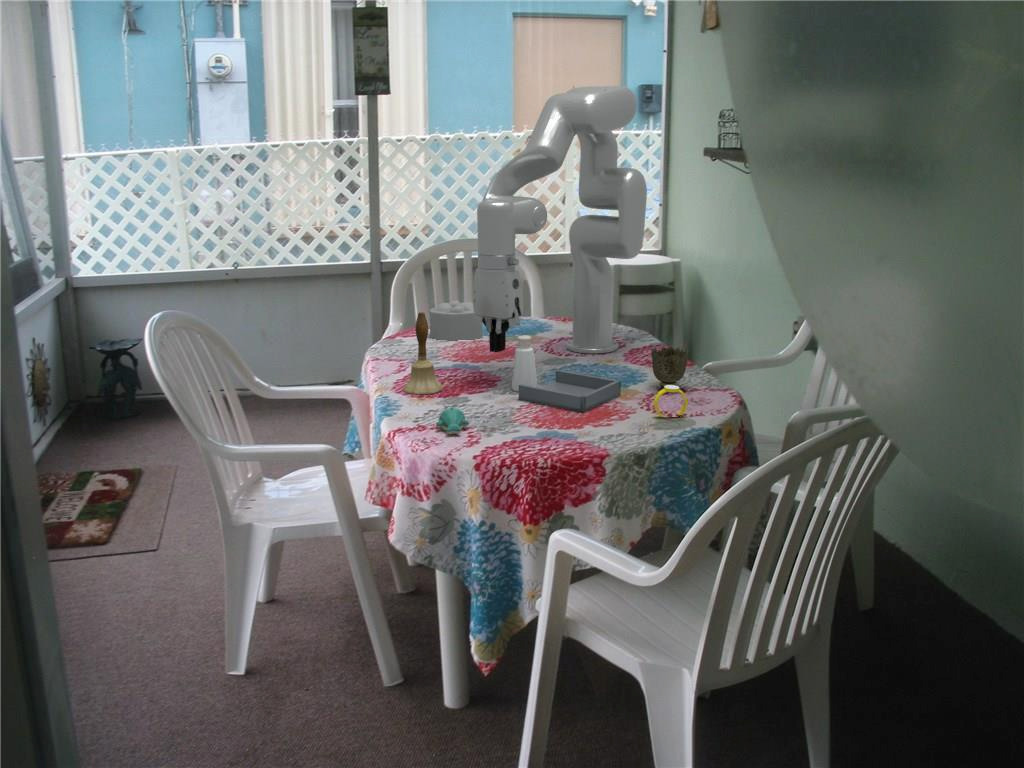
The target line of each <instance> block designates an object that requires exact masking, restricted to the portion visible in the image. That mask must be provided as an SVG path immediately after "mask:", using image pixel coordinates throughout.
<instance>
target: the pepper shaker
mask: <svg viewBox="0 0 1024 768" xmlns="http://www.w3.org/2000/svg"><path fill="white" fill-rule="evenodd" d="M531 346H532V336H530V335H527V334H526V335H525V334H524V335H519V336H517V347H516V348H515V351H514V358H513V359H514V361H513V370H512V380H511V381H512V383H511V388H512V390H513V392H518V393H519V385H520V384H523V385H528V386H533V387H538V381H537V379H538V378H537V371H536V369H537V368H536V360H535V351H534V349H533V348H532V347H531Z"/></svg>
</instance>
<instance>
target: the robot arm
mask: <svg viewBox="0 0 1024 768" xmlns="http://www.w3.org/2000/svg"><path fill="white" fill-rule="evenodd" d="M636 111H637V98H636V95H635V93H634V92H633V91H632V90H631V89H630V88H629V87H627V86H624V85H622V86H621V85H613V86H612V85H608V86H607V85H606V86H580V87H579V86H578V87H575V88H571V89H569V90H568V91H566V92H560V93H555V94H553V95H551V96H550V97H549V98H547V100H546V102H545V103H544V106H543V108H542V109H541V112H540V114H539V117H538V119H537V121H536V124H535V125H534V128H533V131H532V133H530V136H529V139H528V141H527V144H526V146H525V148H524V149H523V150H522V151H521V152H519V153H518V154H517V155H515V156H513V158H512V159H510V160H509V161H508V162H507V163H506V164H505V165H503V166H502V167H501V168H500V169H499V170H498V171H497V172H496V173H495V174H494V175H493V177H492V178H491V180H490V182H489V184H488V187H487V188H486V191H485V193H484V195H483V198H482V201H481V202H479V203H478V205H477V210H476V216H477V217H476V220H477V221H476V223H477V226H476V227H477V229H476V230H477V231H476V232H477V268H476V269H475V272H474V273H475V274H474V278H473V279H474V280H473V290H472V303H473V310H474V313H475V314H476V315H475V319H476V320H478V321H480V322H482V325H484V327H485V328H486V331H487V333H489V336H488V337H489V351H490V352H492V353H500V352H502V351H505V350H506V340H507V339H506V337H507V336H506V333H507V332H508V331H509V329H510V328H511V327H515V326H518V325H521V321H520V318H521V317H522V316H523V315H524V294H523V293H524V292H523V285H522V280H521V275H520V270H519V269H516V266H519V264H520V259H519V258H516V235H533V234H534V235H535V234H536V233H538V232H540V231H541V230H542V229H543V228H544V227H545V225H546V223H547V220H548V209H547V208H546V205H545V204H544V203H543V202H542V201H541V200H539V199H538V198H534V197H529V196H514V195H515V194H516V193H517V192H518V191H519V190H521V189H522V188H523V187H525V186H526V185H529V184H530V183H532V182H534V181H537V180H540V179H543V178H545V177H547V176H550V175H551V174H553V173H555V172H557V171H559V170H560V169H561V167H562V166H563V164H564V161H565V159H566V157H567V155H568V151H569V150H570V147H571V145H572V143H573V140H574V138H575V136H577V138H578V141H579V145H580V146H579V148H580V157H579V159H580V160H579V174H578V175H579V177H578V199H579V202H580V203H581V205H582V206H584V207H586V208H588V209H594V210H595V209H596V210H606V211H618V216H614V215H604V214H603V215H602V214H600V215H599V214H585V215H581V216H579V217H577V218H576V219H575V220H573V222H572V223H571V225H570V227H569V232H568V240H569V245H570V250H571V258H572V339H569V340H567V341H566V342H565V348H566V349H567V350H569V351H572V352H575V353H581V354H606V353H610V352H615V351H616V350H618V349H619V342H617V341H616V340H614V339H613V336H614V335H617V334H619V333H620V328H619V327H618V326H616V325H615V326H613V316H614V315H613V311H614V309H613V308H614V306H613V305H614V272H613V269H612V267H611V264H610V262H609V261H608V259H609V258H610V259H619V260H632V259H634V258H636V257H637V256H638V255H639V254H640V253H641V250H642V247H643V244H644V235H645V224H646V223H645V222H646V212H647V211H646V210H647V201H648V200H647V199H648V197H647V195H648V192H647V189H648V188H647V182H646V178H645V177H644V174H642V172H641V171H640V170H638V169H635V168H632V167H619V166H618V153H619V152H618V150H619V147H618V142H617V139H616V136H615V135H614V133H613V131H615V130H618V129H621V128H624V127H626V126H628V125H629V124H630V123H631V122H632V121H633V119H634V117H635V116H636V113H637V112H636ZM607 258H608V259H607Z"/></svg>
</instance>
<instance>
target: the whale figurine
mask: <svg viewBox="0 0 1024 768" xmlns="http://www.w3.org/2000/svg"><path fill="white" fill-rule="evenodd" d="M469 423H470V422H469V420H467V419H466V417H465V414H464V413H463V411H462V410H460V409H459V408H455V407H448V408H446V409H445V410H443V411H442V412H441V413H440V415H439V417H438V421H437V422H436V424H435V426H436V428H438V429H442V430H443V429H444V430H443V431H445V430H446V431H445V433H446V434H448V435H451V434H452V435H453V434H461V433H462V431H463V428H464V427H468V426H470V424H469Z"/></svg>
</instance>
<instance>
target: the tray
mask: <svg viewBox="0 0 1024 768" xmlns="http://www.w3.org/2000/svg"><path fill="white" fill-rule="evenodd" d="M621 382H622V380H618V379H613V378H605V377H601V376H595V375H588V374H583V373H577V372H572V371H566V370H561V369H556V370H555V381H554V382H551V383H550V384H547V385H545V386H542V387H538V386H537V387H533V386H528V385H523V384H520V385H519V392H518V401H522V402H527V403H534V404H538V405H542V406H543V405H544V406H548V407H552V408H553V407H554V408H558V409H563V410H568V411H572V412H578V413H583V414H584V413H586V412H588V411H591V410H593V409H594V408H596V407H598V406H601V405H603V404H606V403H607V402H609V401H612V400H613V399H615V398H618V397H620V396H621V393H622V392H621V391H622V390H621V388H622V386H621V385H622V384H621Z"/></svg>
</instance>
